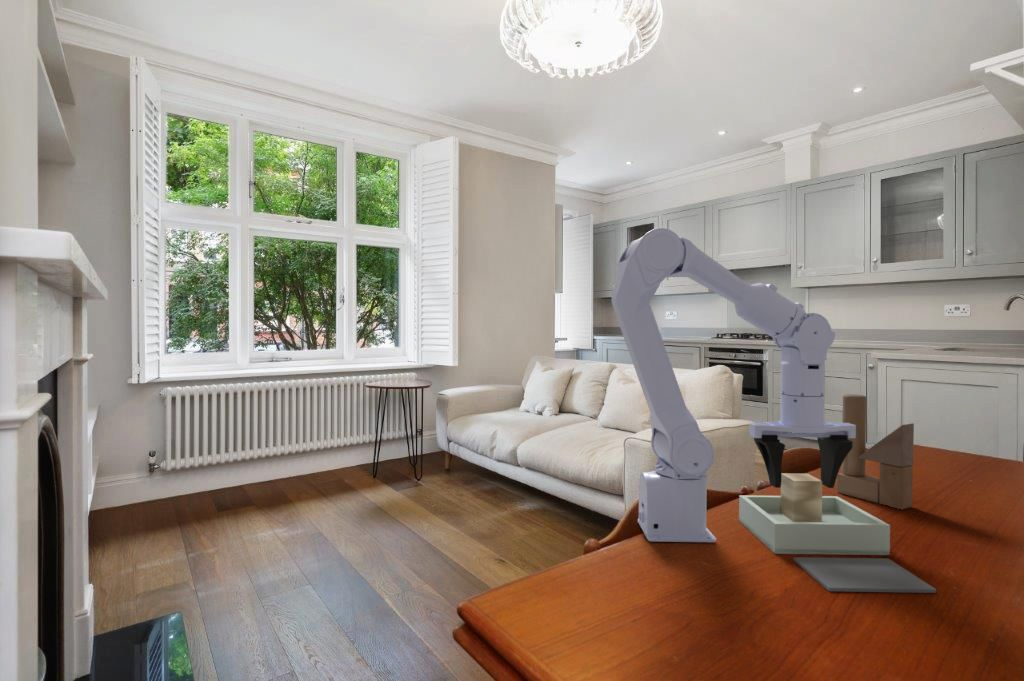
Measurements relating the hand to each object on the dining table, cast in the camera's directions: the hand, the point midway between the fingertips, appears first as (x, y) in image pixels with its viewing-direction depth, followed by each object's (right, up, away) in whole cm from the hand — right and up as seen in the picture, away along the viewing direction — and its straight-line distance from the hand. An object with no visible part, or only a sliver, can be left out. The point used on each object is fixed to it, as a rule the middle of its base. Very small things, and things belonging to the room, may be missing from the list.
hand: (801, 485), depth 78 cm
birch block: (0, -5, 0) cm, 5 cm away
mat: (-1, -7, -14) cm, 16 cm away
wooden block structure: (+20, -7, +14) cm, 26 cm away
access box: (0, -7, -2) cm, 7 cm away
